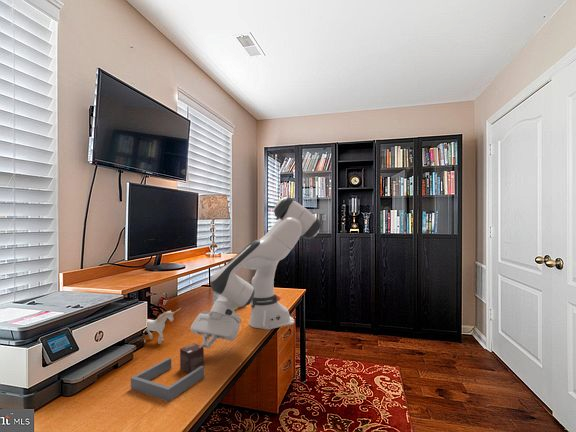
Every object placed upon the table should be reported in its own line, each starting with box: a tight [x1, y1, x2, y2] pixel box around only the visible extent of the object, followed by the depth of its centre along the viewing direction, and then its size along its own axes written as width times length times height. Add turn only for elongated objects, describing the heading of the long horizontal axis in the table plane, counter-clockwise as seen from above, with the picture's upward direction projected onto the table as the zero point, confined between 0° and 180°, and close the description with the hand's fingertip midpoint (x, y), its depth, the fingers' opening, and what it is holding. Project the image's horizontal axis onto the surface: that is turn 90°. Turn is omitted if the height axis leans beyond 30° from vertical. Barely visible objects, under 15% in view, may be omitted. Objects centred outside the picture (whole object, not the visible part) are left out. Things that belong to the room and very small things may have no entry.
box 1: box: [130, 357, 205, 403], centre depth 100 cm, size 15×16×4 cm
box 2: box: [179, 342, 205, 374], centre depth 110 cm, size 6×6×7 cm
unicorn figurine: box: [143, 307, 182, 345], centre depth 135 cm, size 7×20×13 cm, turn 93°
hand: (205, 347), depth 116 cm, fingers closed
